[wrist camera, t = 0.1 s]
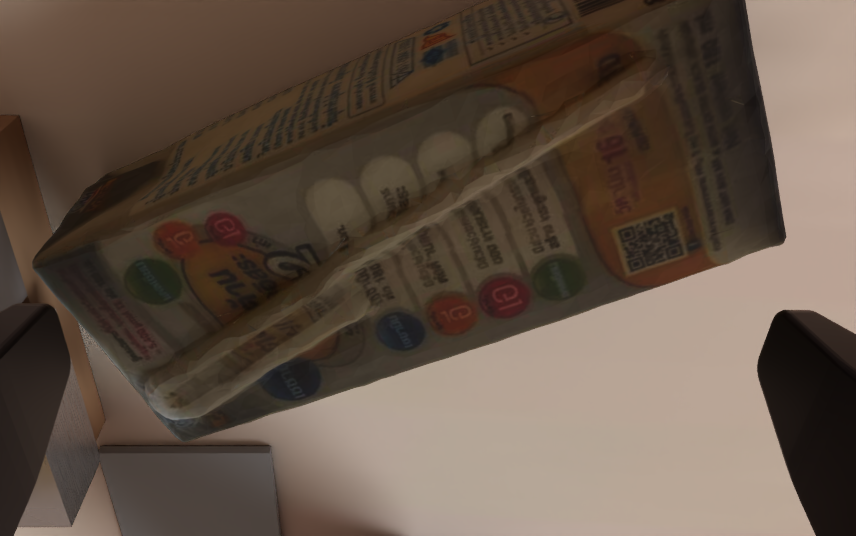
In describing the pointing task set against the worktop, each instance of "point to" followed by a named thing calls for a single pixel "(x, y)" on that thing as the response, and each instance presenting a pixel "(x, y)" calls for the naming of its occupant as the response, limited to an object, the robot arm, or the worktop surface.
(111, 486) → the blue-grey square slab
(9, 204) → the plane body
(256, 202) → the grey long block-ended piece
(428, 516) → the worktop surface
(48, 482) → the grey rectangular box
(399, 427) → the worktop surface
